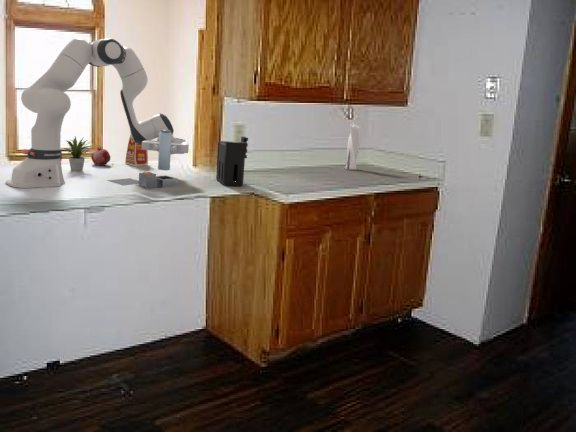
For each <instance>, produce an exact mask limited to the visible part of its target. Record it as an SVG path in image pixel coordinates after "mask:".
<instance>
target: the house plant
mask: <svg viewBox="0 0 576 432" xmlns="http://www.w3.org/2000/svg"><path fill="white" fill-rule="evenodd" d="M83 140H84V136H83V137H82V138H81V139H80V140H79V142H78V140H77V137H76V135H75V136H74V138H73V139H70V138H69V140H67V139H66V140H65V142H66V144H67V145H68V146H69V148H70V149H69V148H67V147H65V148H63V150H66V151H67V153H68V155H70V154H71V155H72V156H69V157H68V161H69V167H70V171H71V172H75V173H77V172H78V173H79V172H83V170H84V164H85V157H83V155H84V154H87V152H89V153H90V150H92V148H90V147H92V145H88V144H92V142H90V141H88V139H86V140H84V141H83ZM87 148H88V149H87ZM89 148H90V149H89ZM86 149H87V150H86Z"/></svg>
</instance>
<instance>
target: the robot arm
mask: <svg viewBox="0 0 576 432" xmlns="http://www.w3.org/2000/svg"><path fill="white" fill-rule="evenodd" d="M88 65H90V66H92V67H96V68H99V67H108V66H112V67H113V68H114V69H115V70H116V71H117V73H118V75H119V78H120V79H121V83H122V87H121V88H122V89H121V90H120V99H121V102H122V103H121V104H122V106H123V110H124V113H125V116H126V120H127V123H128V126H129V130H130V135H131V136H132V139H133V140H134V141H135V143H138V144H142V150H148V151H154V152H158V153H159V137H160V132H161V130H162V129H164V130H171V133H172V136H171V155H183V154H188V153H189V148H190V147H189V143H188V142H187V141H186V139H184V138H178V137H175V136H174V127H173V125H172V123H171V121H170V119H169V117H167V115H165V114H163V113H160V112H159V113H156V114H155V115H151V116H150V117H147V118H145V119H143V120H141V121H138V119H137V117H136V112H135V109H134V107H133V105H134V104H133V103H134V101H135V99H136V98H137V97H138V96H139V95H140V94H141V93H142V92H143V91H144V89H146V87H147V84H148V80H149V79H148V75H147V72H146V70H145V67H144V66H143V64H142V62H141V59H140V58H139V57H138V56H137V54H136V52H135V50H133V49H132V48H131V47H129V46H128V47H127V46H123V45H122V44H121V43H120V42H119V41H117V40H116V39H114V38H108V37H107V38H101V39H100V38H99V39H96V40H94V41H90V42H88V41H87V40H85V39H83V38H81V37H76V38H73V39H71V40H70V41H69V42H68V43H67V44H66V45H65V46H64V48H62V50H61V51H60V53H59V54H58V56H56V58H55V60H54V62H52V64H51V66H50V67H49V68H48V69H47V70H46V71H45V72H44V74H42V76H41V77H39V78H38V79H37V80H36V81H35V82H34V83H33V84H32V85H30V86H29V87H26V88H25V89H24V90H22V93H21V97H20V100H21V103H22V106H23V107H25V108H26V109H28V110H29V111H30V112H32V113H35V114H37V115H36V120H35V122H34V125H33V126H32V127H31V129H30V130H31V131H30V134H31V136H30V138H31V145H30V146H31V147H30V148H29V150H28V149H27V148H23V149H22V150H21V153H22V154H23V155H27V157H26V158H25V159H24V160H22V161H21V162H19V164H17V165H15V166H14V167H13V169H12V172H11V179H6V180H5V184H6V185H8V186H10V187H14V188H18V189H19V188H20V189H30V188H34V189H35V188H51V187H52V188H54V187H61V185H64V184H66V182H65V179H64V175H63V170H62V160H63V159H62V158H63V157H62V156H63V155H62V154H63V152H62V149H61V136H62V135H61V132H62V126H63V122H64V118H65V116H66V114H67V113H68V112H69V111H70V109H71V103H72V102H71V99H70V96H69V95H68V94H67V93H66V91H68V90H69V89H71V88H73V87H74V86H75V85H76V83H77V81H78V80H79V78H80V77H81V76H82V74H83V73H84V70H85V69H86V67H87V66H88ZM155 139H156V140H155Z"/></svg>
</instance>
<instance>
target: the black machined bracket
mask: <svg viewBox="0 0 576 432" xmlns="http://www.w3.org/2000/svg"><path fill="white" fill-rule="evenodd" d="M240 138H241V139H240V140H241V141H239V142H234V141H226V140H220V141H218V142H217V158H216V175H215V176H216V180H217V182H219V183H220V184H222V185H223V186H225V185H226V186H225V187H243V186H244V177H245V162H246V159H248V155H247V153H248V145H249V144H248V141H249V137H246V136H240ZM234 181H236V182H234Z"/></svg>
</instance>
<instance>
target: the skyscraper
mask: <svg viewBox="0 0 576 432" xmlns="http://www.w3.org/2000/svg"><path fill="white" fill-rule="evenodd" d="M349 129H350V130H349V131H350V133H349V136H348V140H347V149H346V150H347V151H346V153H347V155H346V156H347V163H346V165H345V167H342V169H344V168H345V169H344V170H346V169H347V170H346V171H358V169H357V163H356V162H357V160H358V155H359V151H360V144H361V140H360V139H361V137H360V135H361V134H360V131H361V129H362V126H361V125H357V124H355V122H354V121H352V122H350V125H349Z"/></svg>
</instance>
